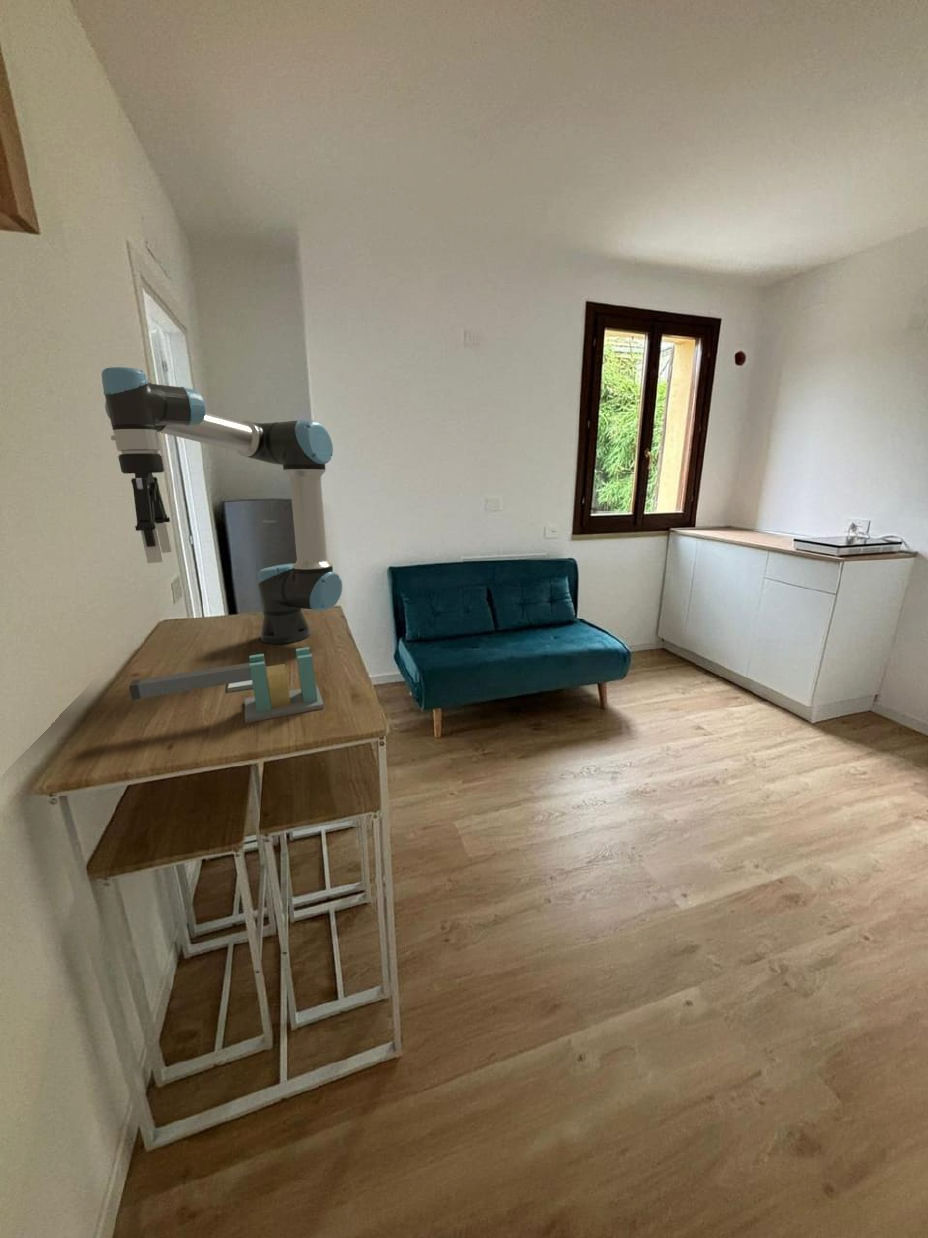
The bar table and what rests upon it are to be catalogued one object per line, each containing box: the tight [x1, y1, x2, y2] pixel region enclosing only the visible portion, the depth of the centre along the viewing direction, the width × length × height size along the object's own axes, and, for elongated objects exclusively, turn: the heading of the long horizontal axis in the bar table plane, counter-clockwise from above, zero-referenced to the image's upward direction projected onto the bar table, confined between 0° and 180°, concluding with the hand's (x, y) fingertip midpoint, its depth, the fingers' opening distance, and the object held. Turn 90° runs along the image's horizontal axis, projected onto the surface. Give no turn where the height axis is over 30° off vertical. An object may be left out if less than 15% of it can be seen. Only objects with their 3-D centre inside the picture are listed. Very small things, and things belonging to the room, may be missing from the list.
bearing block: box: [244, 646, 325, 724], centre depth 116 cm, size 11×16×12 cm, turn 112°
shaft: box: [128, 661, 263, 701], centre depth 109 cm, size 3×26×3 cm, turn 112°
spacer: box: [266, 663, 290, 708], centre depth 116 cm, size 6×4×8 cm, turn 22°
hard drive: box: [227, 680, 253, 693], centre depth 132 cm, size 2×8×12 cm
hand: (160, 557), depth 109 cm, fingers open, 13 cm apart
